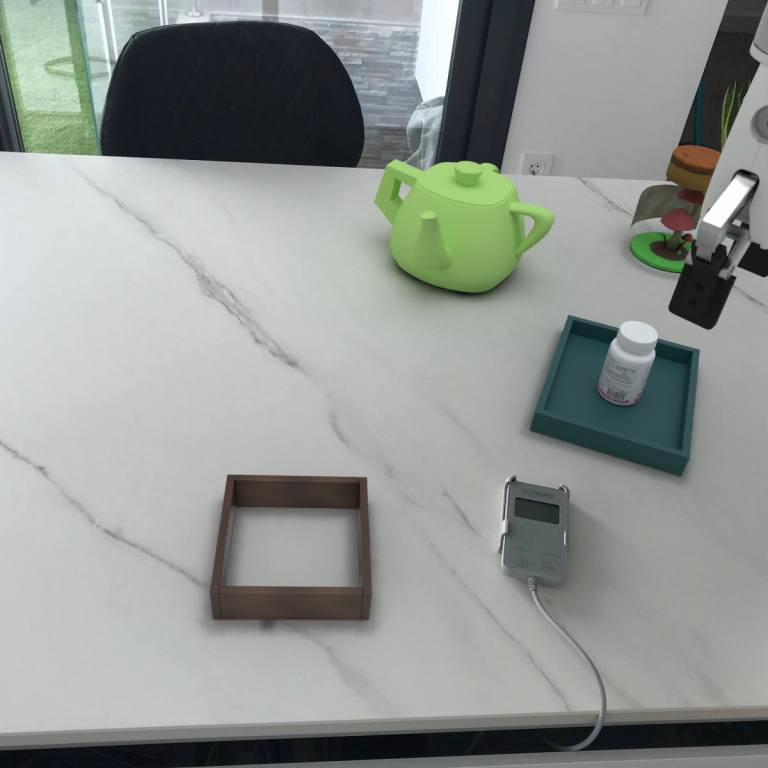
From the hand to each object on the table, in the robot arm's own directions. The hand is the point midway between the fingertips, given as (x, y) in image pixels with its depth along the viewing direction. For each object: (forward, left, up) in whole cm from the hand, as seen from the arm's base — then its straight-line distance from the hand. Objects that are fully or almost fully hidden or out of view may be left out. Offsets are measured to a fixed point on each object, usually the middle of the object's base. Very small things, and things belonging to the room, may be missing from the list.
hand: (720, 292), depth 55 cm
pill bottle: (+9, -18, -26) cm, 33 cm away
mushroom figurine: (+18, -54, -26) cm, 63 cm away
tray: (+9, -18, -26) cm, 33 cm away
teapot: (+38, -26, -26) cm, 53 cm away
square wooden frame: (+20, +22, -26) cm, 40 cm away
